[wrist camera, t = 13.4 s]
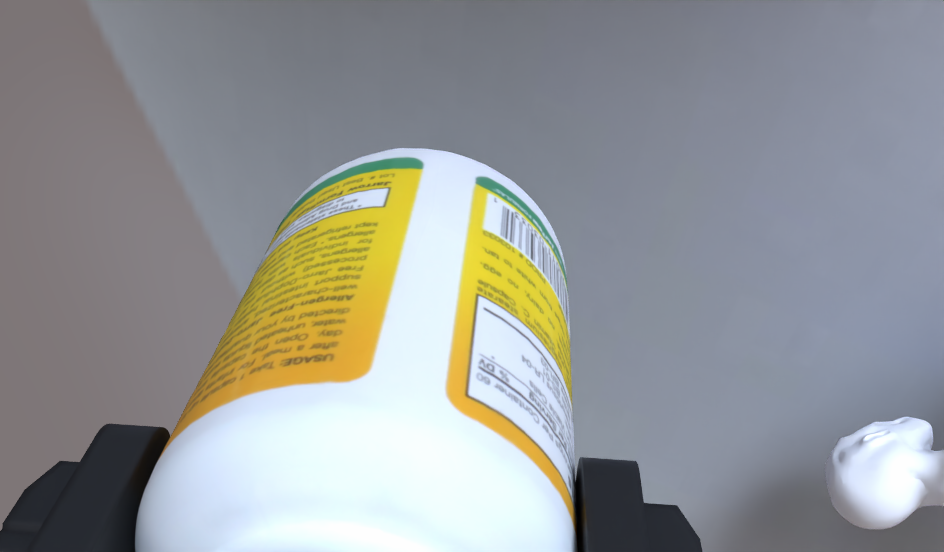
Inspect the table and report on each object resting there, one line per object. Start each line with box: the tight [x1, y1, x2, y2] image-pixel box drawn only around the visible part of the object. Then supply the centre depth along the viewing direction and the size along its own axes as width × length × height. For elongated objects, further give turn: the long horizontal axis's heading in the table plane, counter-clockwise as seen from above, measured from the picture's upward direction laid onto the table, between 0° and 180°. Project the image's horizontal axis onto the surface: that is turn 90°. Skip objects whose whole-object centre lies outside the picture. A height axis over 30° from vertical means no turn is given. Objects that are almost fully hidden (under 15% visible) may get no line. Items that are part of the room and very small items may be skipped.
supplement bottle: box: [135, 148, 578, 552], centre depth 12 cm, size 5×5×10 cm
